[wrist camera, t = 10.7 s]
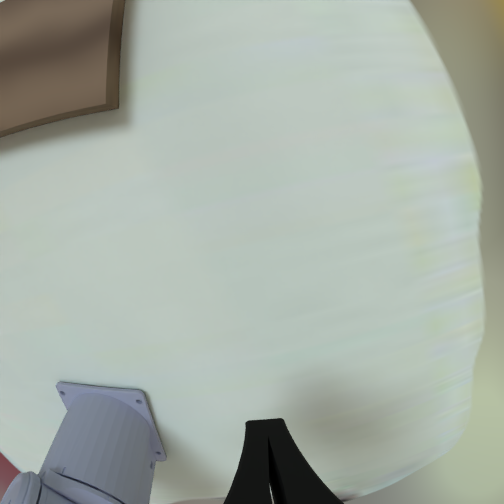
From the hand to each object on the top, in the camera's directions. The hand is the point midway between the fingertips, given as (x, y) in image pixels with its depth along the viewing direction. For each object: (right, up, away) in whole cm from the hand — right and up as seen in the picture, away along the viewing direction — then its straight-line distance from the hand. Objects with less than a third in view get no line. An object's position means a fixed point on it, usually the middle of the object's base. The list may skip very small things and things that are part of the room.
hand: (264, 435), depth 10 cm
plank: (-23, +19, +2) cm, 30 cm away
